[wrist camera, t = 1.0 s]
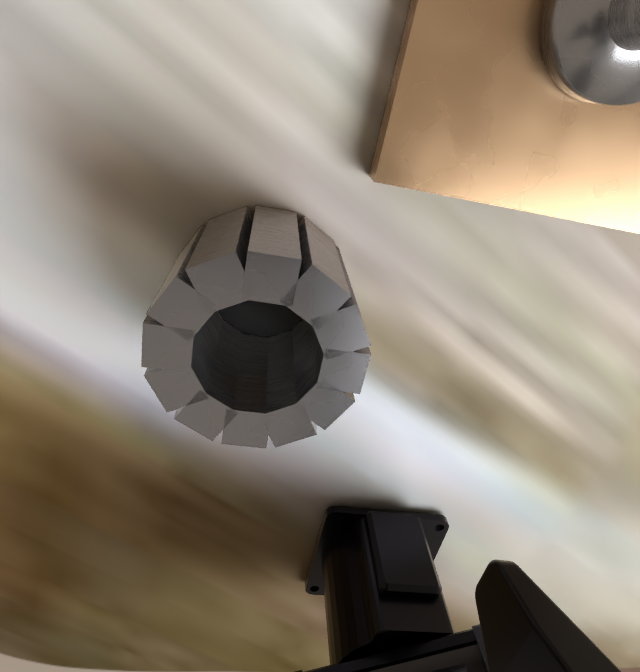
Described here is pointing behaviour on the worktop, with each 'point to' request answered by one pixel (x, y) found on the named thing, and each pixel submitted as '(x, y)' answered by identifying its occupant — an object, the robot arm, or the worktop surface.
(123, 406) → the worktop surface
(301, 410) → the hub
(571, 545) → the worktop surface
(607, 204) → the shaft stand
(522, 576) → the robot arm
